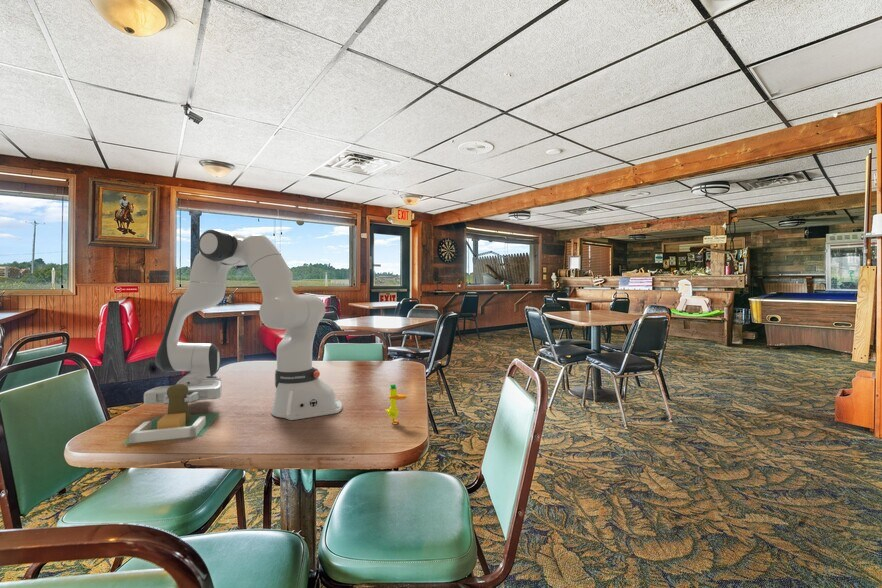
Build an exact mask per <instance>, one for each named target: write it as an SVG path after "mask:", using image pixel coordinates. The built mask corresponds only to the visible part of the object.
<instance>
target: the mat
mask: <svg viewBox="0 0 882 588" xmlns="http://www.w3.org/2000/svg"><path fill="white" fill-rule="evenodd" d="M219 415H220V412H213V413H202V414H190V417H191V419H190V421H188V422H186V426H185V427H187V426H192V425H193V424H194V422H195V421H196V420H197V419H198V418H199V417H200V416H206V424H205V426H204V427H203V428H202V429H201V431H200V432H199V433H198V434H197V436H196V437H195V438H199V437H203V436H204V434H205V433H206V432H207V431H208V429H209V427H210V426H211V425H212V424H213V422H214V421H215V420H216V418H217V417H218V416H219ZM161 418H162V417H154V418H152V419H151V420H150V421H151V430H156V429H157V421H159V420H160V419H161ZM189 438H190V439H191V438H192V437H186V438H185V439H189ZM181 439H183V438H177V439H176V440H181ZM168 440H173V439H167V440H166V441H168ZM161 441H163V440H157V441H156V442H161ZM150 442H152V443H153V441H147V442H146V443H150ZM141 443H144V442H138V443H137V444H141ZM131 444H134V443H129V438H128V439H127V440H126V441H124V442H123V443H122V444H121V445H123V446H124V445H131Z"/></svg>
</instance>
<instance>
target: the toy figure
mask: <svg viewBox="0 0 882 588" xmlns="http://www.w3.org/2000/svg"><path fill="white" fill-rule="evenodd" d="M397 388H398V387H397V386H396V383H392V384H390V388H389V396H388V399H389V401H390V407H388V409H386V408H385V409H384V411H385V412H386V414H387V415H388V417H389V418H390V420H392V421H391V424H392V423H398V424H399V422H400V421H399V420H398V419H397V417H398V415H399V409H398V407H397V400H398V401H399V400H401V401H402V400H405V399H406V398H408V395H407V394H403V393H402V394H401V393H398V389H397Z"/></svg>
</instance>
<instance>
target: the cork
mask: <svg viewBox="0 0 882 588" xmlns="http://www.w3.org/2000/svg"><path fill="white" fill-rule="evenodd" d="M169 386H170V387H169V388H168V389H167V396H168V397H169V404H167V407H168V408H167V414H177V413H186V422H188V421H190V419H191V417H190V415H191V413H190V408H189V403H188V402H186V403H185V402H184V401H185V399H184V398H185V396H186V395H187V393H188V387H187V386H186V385H184V384H172V385H169Z"/></svg>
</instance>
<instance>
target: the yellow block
mask: <svg viewBox="0 0 882 588" xmlns="http://www.w3.org/2000/svg"><path fill="white" fill-rule="evenodd" d="M160 418H161V419H160V420H159V421H157V429H166V428H177V427H185V426H186V413H177V414H164V415H163V416H162V417H160Z"/></svg>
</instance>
